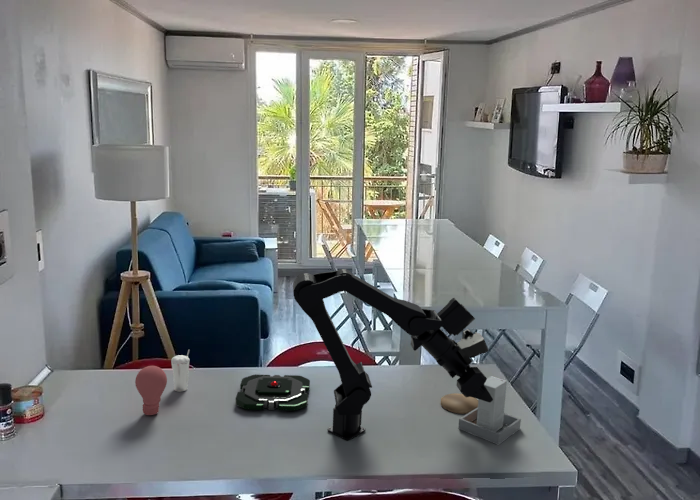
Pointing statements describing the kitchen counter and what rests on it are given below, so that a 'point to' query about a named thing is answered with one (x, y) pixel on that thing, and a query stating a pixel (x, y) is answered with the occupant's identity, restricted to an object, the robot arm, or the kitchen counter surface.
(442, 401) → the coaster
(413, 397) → the kitchen counter surface
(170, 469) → the kitchen counter surface
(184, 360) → the milkshake
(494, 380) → the skincare box
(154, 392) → the light bulb
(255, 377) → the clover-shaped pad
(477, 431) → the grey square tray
